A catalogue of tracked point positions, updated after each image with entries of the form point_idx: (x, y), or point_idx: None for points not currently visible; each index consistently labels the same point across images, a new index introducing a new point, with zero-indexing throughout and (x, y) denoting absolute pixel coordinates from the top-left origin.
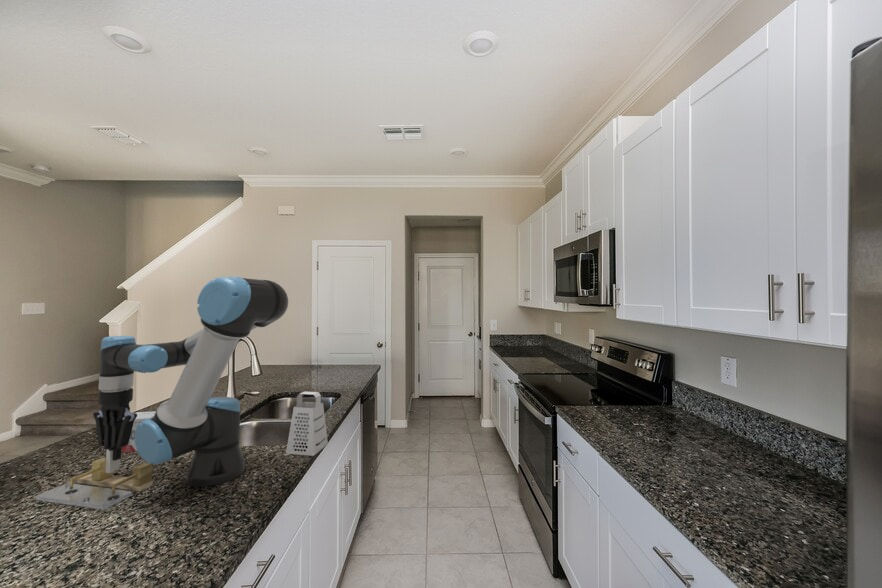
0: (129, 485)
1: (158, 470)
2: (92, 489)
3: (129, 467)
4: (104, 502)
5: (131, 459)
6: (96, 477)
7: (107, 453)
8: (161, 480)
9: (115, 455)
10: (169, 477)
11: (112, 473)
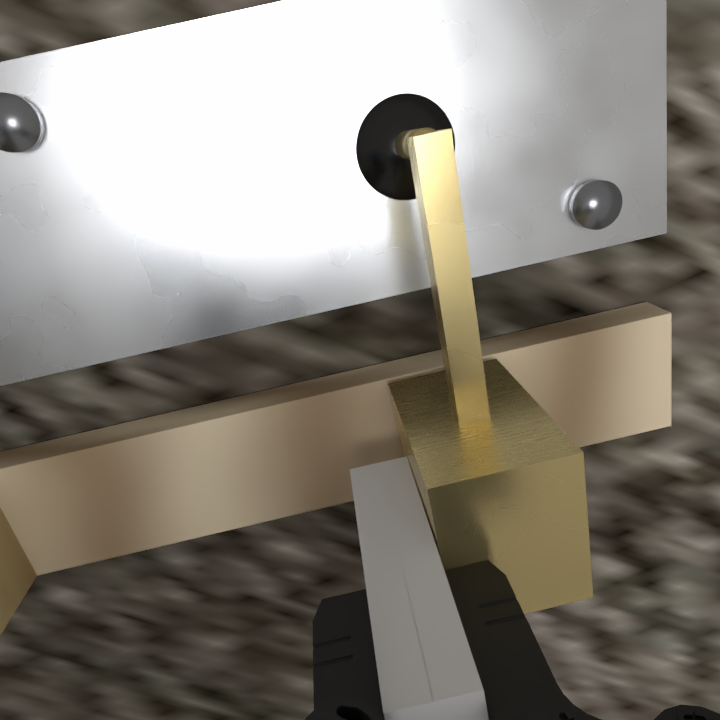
0: (17, 465)
1: (253, 686)
2: (261, 271)
3: (535, 612)
4: None
5: (674, 671)
6: (440, 383)
7: (435, 638)
8: (10, 629)
9: (324, 662)
10: (19, 676)
11: None
